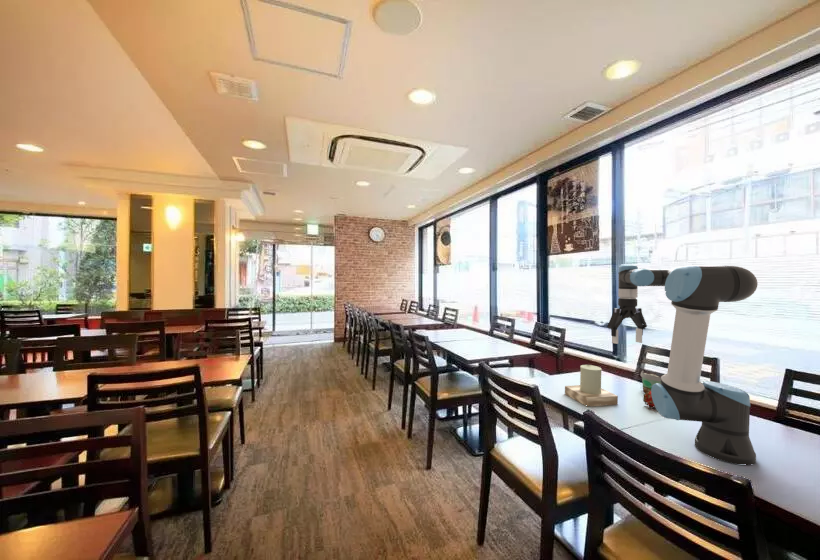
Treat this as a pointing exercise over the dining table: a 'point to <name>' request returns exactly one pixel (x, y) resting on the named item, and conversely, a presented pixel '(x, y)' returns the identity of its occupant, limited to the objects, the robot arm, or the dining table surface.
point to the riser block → (591, 396)
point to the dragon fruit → (648, 399)
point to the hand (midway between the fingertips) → (627, 342)
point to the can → (590, 379)
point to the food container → (649, 380)
